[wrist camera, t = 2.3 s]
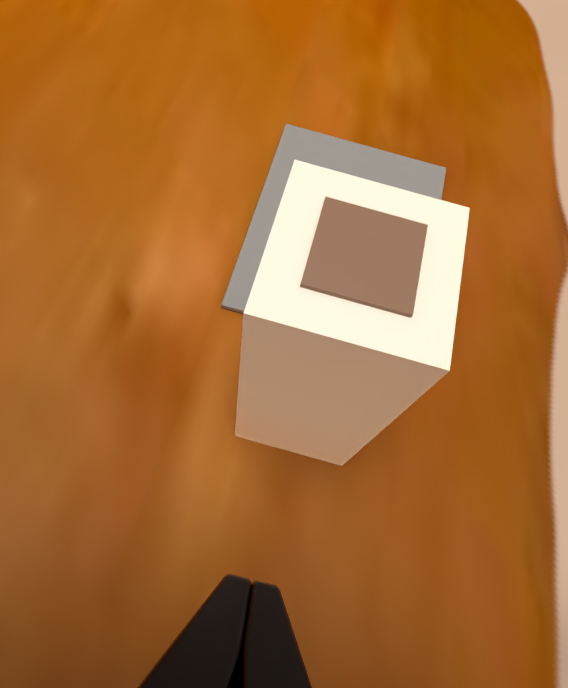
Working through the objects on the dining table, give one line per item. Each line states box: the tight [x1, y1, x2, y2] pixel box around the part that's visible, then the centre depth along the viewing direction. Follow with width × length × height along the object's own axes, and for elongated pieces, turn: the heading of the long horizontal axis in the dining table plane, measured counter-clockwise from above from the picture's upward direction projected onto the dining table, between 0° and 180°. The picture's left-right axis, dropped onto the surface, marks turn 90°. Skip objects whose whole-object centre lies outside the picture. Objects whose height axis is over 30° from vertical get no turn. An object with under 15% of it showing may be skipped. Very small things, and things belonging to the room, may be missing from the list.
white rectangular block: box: [235, 160, 470, 466], centre depth 18 cm, size 5×5×12 cm
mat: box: [222, 124, 446, 314], centre depth 28 cm, size 13×10×1 cm
